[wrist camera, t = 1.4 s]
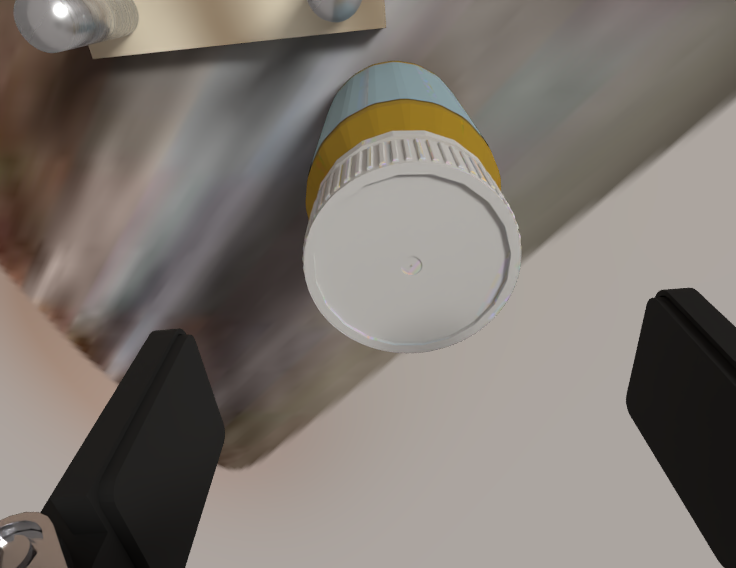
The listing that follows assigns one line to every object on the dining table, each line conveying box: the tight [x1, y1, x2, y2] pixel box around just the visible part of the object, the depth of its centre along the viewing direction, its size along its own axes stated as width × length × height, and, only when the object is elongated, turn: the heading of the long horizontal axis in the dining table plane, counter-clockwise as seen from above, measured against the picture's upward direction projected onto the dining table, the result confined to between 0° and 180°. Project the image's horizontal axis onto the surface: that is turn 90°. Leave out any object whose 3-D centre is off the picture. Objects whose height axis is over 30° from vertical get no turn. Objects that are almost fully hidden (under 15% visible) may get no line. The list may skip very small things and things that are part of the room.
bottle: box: [302, 61, 522, 353], centre depth 21 cm, size 7×7×15 cm
